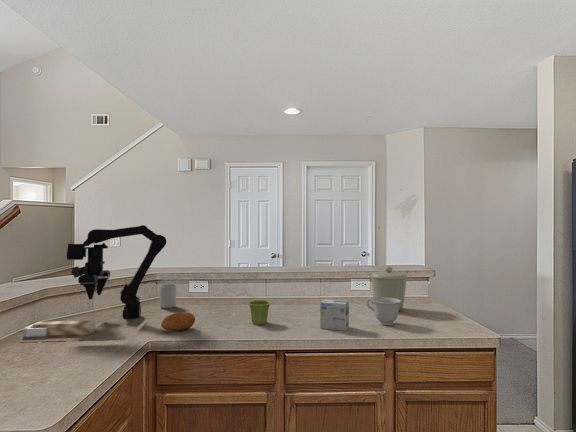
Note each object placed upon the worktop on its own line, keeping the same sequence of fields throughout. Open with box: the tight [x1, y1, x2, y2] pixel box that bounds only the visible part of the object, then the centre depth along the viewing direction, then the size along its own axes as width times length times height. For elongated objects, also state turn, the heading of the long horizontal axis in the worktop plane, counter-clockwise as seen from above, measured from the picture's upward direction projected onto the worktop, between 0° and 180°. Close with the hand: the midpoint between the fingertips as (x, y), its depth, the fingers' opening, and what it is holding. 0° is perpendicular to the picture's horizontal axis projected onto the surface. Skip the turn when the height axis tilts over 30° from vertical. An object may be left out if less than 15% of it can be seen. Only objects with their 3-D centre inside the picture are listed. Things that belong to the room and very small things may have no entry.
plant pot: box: [248, 299, 271, 326], centre depth 163 cm, size 9×9×9 cm
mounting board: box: [19, 321, 105, 344], centre depth 147 cm, size 21×21×2 cm
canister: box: [369, 265, 409, 312], centre depth 190 cm, size 18×18×21 cm
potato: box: [160, 311, 196, 331], centre depth 152 cm, size 7×13×7 cm, turn 112°
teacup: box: [365, 297, 401, 326], centre depth 164 cm, size 12×15×10 cm
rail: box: [33, 320, 97, 336], centre depth 141 cm, size 20×4×4 cm, turn 96°
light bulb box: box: [319, 299, 350, 332], centre depth 157 cm, size 11×7×11 cm, turn 71°
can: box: [159, 282, 177, 310], centre depth 192 cm, size 8×8×12 cm
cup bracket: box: [22, 322, 48, 339], centre depth 140 cm, size 8×8×3 cm
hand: (94, 297), depth 161 cm, fingers open, 9 cm apart
